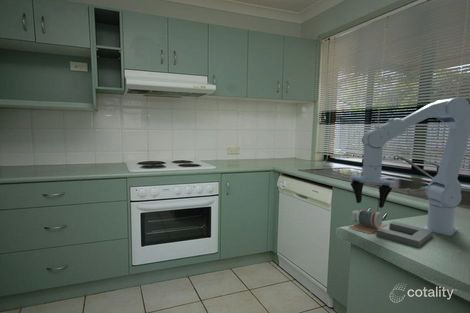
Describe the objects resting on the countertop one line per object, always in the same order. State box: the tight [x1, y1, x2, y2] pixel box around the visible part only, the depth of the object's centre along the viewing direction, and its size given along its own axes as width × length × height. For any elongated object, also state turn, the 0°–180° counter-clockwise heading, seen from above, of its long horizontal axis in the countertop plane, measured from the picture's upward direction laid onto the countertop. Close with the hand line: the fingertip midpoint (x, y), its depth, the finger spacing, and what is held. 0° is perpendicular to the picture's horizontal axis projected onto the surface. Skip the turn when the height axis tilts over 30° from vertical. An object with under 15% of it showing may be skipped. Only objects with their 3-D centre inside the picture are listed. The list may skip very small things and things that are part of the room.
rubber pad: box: [349, 222, 387, 235], centre depth 100 cm, size 14×7×1 cm, turn 132°
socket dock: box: [376, 221, 434, 248], centre depth 91 cm, size 14×12×2 cm
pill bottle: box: [350, 209, 383, 228], centre depth 100 cm, size 5×5×9 cm
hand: (369, 204), depth 99 cm, fingers open, 7 cm apart
